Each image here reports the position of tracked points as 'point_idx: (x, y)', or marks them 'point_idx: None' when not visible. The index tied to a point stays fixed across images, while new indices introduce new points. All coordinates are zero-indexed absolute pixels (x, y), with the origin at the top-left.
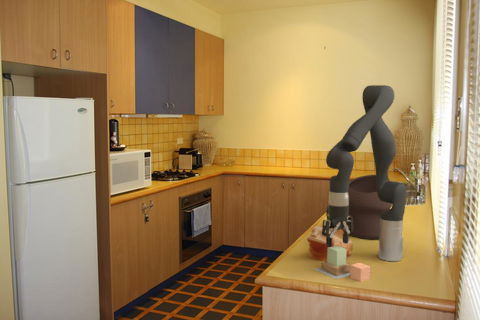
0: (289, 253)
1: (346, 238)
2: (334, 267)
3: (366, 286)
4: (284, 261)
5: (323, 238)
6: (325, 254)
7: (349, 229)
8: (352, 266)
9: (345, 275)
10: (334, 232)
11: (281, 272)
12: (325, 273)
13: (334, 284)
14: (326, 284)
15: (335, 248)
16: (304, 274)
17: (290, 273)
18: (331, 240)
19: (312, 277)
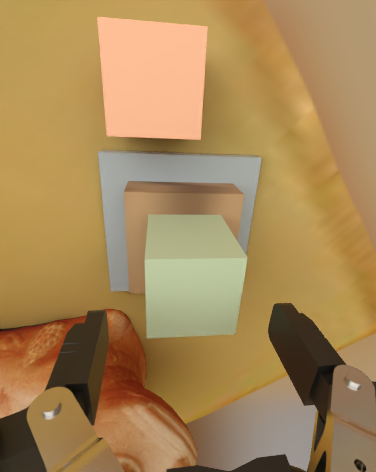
0: None
1: (97, 347)
2: (241, 210)
3: (183, 9)
4: (232, 387)
5: (140, 441)
6: (120, 357)
7: (5, 459)
8: (201, 120)
9: (189, 165)
10: (346, 419)
11: (322, 326)
12: (244, 232)
13: (286, 139)
14: (311, 160)
15: (206, 303)
16: (282, 281)
17: (309, 308)
18: (313, 342)
19: (286, 245)
